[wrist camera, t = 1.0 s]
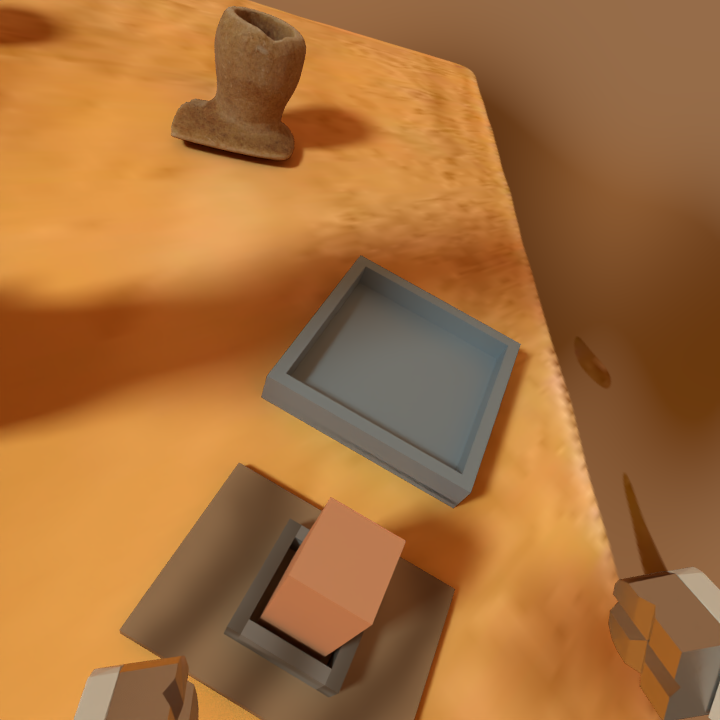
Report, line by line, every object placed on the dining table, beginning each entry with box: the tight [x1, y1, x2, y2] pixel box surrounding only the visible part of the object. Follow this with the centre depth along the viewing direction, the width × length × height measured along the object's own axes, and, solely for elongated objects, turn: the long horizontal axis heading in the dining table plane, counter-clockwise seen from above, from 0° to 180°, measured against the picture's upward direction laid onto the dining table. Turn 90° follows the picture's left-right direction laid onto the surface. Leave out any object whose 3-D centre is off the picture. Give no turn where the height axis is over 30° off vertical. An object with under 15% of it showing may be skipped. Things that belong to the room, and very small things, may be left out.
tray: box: [261, 255, 521, 508], centre depth 54 cm, size 20×20×4 cm
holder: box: [120, 463, 455, 720], centre depth 38 cm, size 20×14×4 cm
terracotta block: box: [257, 497, 406, 660], centre depth 34 cm, size 5×5×12 cm
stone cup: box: [171, 6, 306, 160], centre depth 66 cm, size 15×12×15 cm
